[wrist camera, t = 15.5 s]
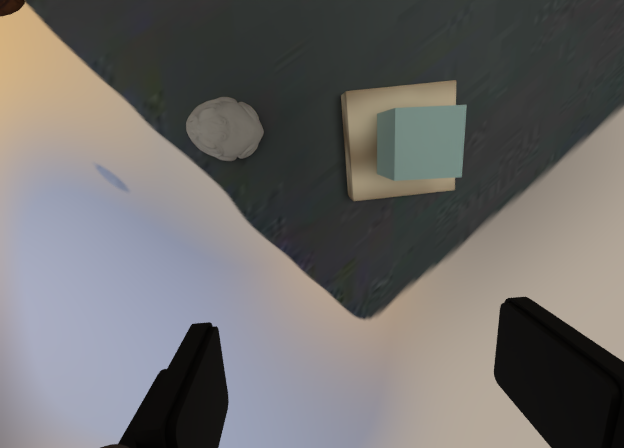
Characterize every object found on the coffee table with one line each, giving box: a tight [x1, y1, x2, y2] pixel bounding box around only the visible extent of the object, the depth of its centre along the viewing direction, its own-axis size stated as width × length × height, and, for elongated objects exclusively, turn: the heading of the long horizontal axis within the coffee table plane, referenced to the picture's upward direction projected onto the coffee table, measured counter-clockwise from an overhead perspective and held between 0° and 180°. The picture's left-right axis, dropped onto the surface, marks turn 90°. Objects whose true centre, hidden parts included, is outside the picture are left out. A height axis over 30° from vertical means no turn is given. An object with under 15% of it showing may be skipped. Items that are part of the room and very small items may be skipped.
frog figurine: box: [186, 97, 264, 161], centre depth 32 cm, size 6×7×7 cm
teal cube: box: [377, 105, 467, 181], centre depth 31 cm, size 6×6×6 cm
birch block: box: [341, 80, 456, 201], centre depth 35 cm, size 11×11×4 cm
